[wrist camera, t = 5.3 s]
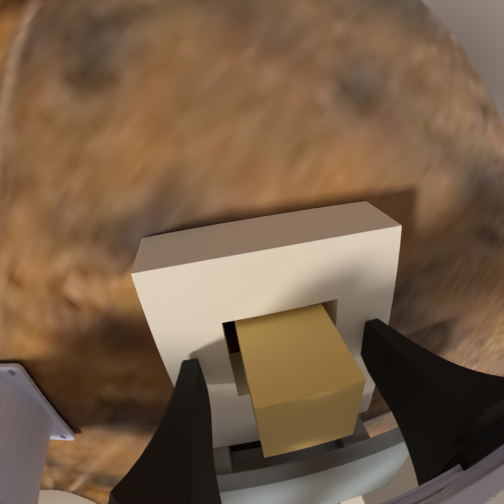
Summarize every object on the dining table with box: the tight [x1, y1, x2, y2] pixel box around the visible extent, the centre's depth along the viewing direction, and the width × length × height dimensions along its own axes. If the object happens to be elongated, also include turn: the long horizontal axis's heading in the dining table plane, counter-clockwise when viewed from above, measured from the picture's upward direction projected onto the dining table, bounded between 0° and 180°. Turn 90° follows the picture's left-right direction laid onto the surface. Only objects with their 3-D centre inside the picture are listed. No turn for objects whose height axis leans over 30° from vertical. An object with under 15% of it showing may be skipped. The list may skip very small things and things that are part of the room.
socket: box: [131, 201, 402, 448], centre depth 15 cm, size 10×12×3 cm
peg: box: [234, 303, 366, 458], centre depth 13 cm, size 4×4×7 cm
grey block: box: [213, 414, 409, 504], centre depth 17 cm, size 13×9×7 cm
